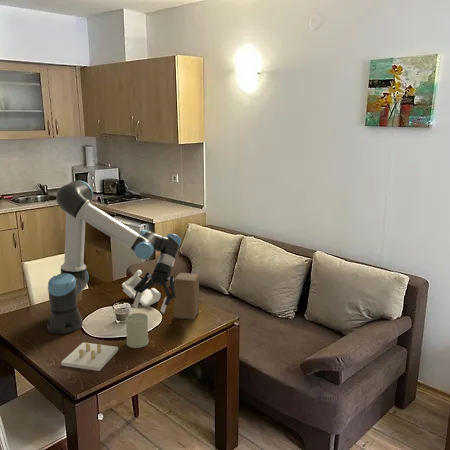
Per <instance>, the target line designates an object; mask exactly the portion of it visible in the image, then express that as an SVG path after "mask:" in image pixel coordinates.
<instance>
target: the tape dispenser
mask: <svg viewBox="0 0 450 450" xmlns="http://www.w3.org/2000/svg"><path fill="white" fill-rule="evenodd" d="M142 274H143V271H142V270H141V269H138V270H136V272H135V273H134V274H133V275H132V276H131V277H129V278H128V279H127V280H126V281H124V282H123V283H121V287H122V288H123V289H122V291H123V293H124V294H126V295H127V296H128V297H129V298H131V299H133V300H135V299H134V297H135V295H136V291H135V290H134V287H135V286H136V285H137V284H138V283H139V282H140V281H141V280H142V279H143V278H141V277H140V276H141V275H142ZM150 279H151V278H150ZM150 279H149V280H150ZM149 280H148V281H149ZM148 281H147V282H148ZM147 282H146V283H147ZM141 294H142V296H141V299H140V301H139V304H140V305H142V306H143V307H145V308H148V307H150V306H151V305H154V304H156V303H157V302H159V301H160V299H161V296H162V295H161V292H160V291H159V290H157V289H156V288H155V287H152V288H150V289H148V288H147V289H146V290H145V291H143V292H142V293H141Z"/></svg>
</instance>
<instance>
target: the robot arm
mask: <svg viewBox="0 0 450 450" xmlns="http://www.w3.org/2000/svg"><path fill="white" fill-rule="evenodd" d="M55 197H56V198H55V199H56V203H57V205H58V207H59V208H60V209H61V210H62V211H63V212H64V213H65V214H66V215H65V233H64V234H65V235H64V236H65V238H64V239H65V241H64V258H63V259H64V262H63V263H62V264H61V265H60V273H58V274H57V275H54V276H52V277H51V278H50V279H49V280H48V283H47V291H48V301H49V311H50V313H49V317H48V321H47V324H46V325H47V326H46V327H47V331H48V332H50V333H52V334H55V335H59V334H60V335H62V334H63V335H65V334H70V333H73V332H76V331H78V330H79V329H81V328H82V327H83V326H84V325H83V323H84V322H83V318H82V316H81V314H80V311H79V309H78V295H80V294H81V292H82V291H83V290H84V289H85V288H86V287H87V284H88V282H89V278H90V277H89V273H88V271H87V265H86V264H85V263H84V261H85V260H84V259H85V240H86V239H85V238H86V223H87V224H89V225H90V226H91V227H93V228H95V229H97V230H98V231H101V232H102V233H104V234H105V235H107V236H108V237H110V238H111V239H113V240H115V241H117V242H118V243H120V244H122V245H123V246H125V247H126V248H128V249H129V250H132V251H133V252H134V254H135V257H137V258H139V259H140V260H146V259H149V258H150V257H151V256H152V255H153V254H154V251H156V252H158V253H159V252H160V253H159V256H158V258H157V260H156V264H155V266H154V269H153V273H149V272H146V273H145V275H144V277H142V278H141V279H142V280H141V281H140V282H139V283H138V284H137V285H136V286H135V287H134V290H135V291H136V295H135V297H134V299H133V300H134V301H133V304H132V306H133V308H136V309H137V308H138V306H139V304H140V302H139V301H140V299H141V296H142V294H141V293H142V292H143V291H145V290H146V289H148V288H150V287H152V286H154V285H155V286H161V287H162V286H163V287H162V288H163V289H164V291H165V294H166V296H165V297H164V299H163V302H162V305H161V307H160V312H161V313H162V314H165V311H166V309H167V307H168V306H170V302H171V301H172V299H174V298H176V294H175V286H174V281H175V278H176V277H174V276H173V275H171V273H172V269H173V268H174V267H173V266H174V264H175V261H176V258H177V257H178V253H179V251H180V247H181V244H182V237H180V236H179V235H178V234H176V233H168V234H167V235H166V236H164V235H161V234H159V233H156V232H153V231H150V230H147V229H141V230H140V231H139V232H137V231H135V230H133V229H132V228H130V227H129V226H127V225H125V224H123V223H122V222H120V221H119V220H117V219H115V218H114V217H112V216H111V215H109V214H108V213H106V212H105V211H103V210H101V209H99V208H98V207H97V206H95V205H93V204H91V202H92V200H93V197H94V191H93V188H92V186H91V185H90V184H89V183H88V182H86V181H83V180H74V181H71V182H69V183H67V184H64V185H63V186H61V187H60V188H59V189H58V190H57V192H56V196H55ZM170 275H171V276H170ZM149 279H150V280H149ZM148 280H149V281H148ZM147 281H148V282H147ZM168 281H169V285H170V287H169V286H168V284H167V283H168ZM146 282H147V283H146ZM168 287H169V288H170V290H169V288H168Z"/></svg>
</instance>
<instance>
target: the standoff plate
mask: <svg viewBox="0 0 450 450" xmlns="http://www.w3.org/2000/svg"><path fill="white" fill-rule="evenodd" d="M118 351H119V346H113V345H105V344H100V343H99V344H98V343H90V342H84V341H83V342H82V343H80V344H79V345H78V346H77V347H76V348H75V349H74V350H73V351H72V352H71V353H69V354H68V355H67V356H66V357H65V358H64V359H63V360H61V363H60V364H61V366H63V367H68V368H69V367H70V368H76V369H82V370H88V371H89V370H91V371H96V372H99V371H102V369H103V368H104V366H106V364H108V362H109V361H110V360H111V359H112V358H113V357H114V356H115V354H117V353H118Z"/></svg>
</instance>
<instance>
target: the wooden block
mask: <svg viewBox="0 0 450 450" xmlns="http://www.w3.org/2000/svg"><path fill="white" fill-rule="evenodd" d="M174 278H175V281H174V286H175V294H176V298H173V301H174V302H173V303H174V305H173V308H174V312H173V313H174V318H175V319H181V320H195V319H196V317H197V315H198V313H199V312H200V275H199V274H198V273H188V272H179V273H178V274H177V275H176V276H175V277H174Z"/></svg>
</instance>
